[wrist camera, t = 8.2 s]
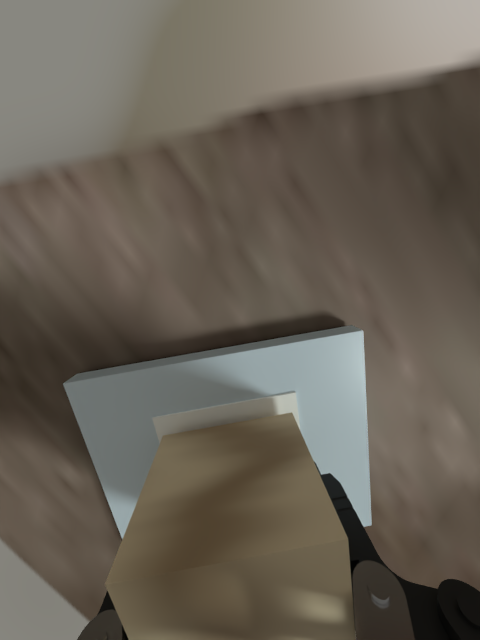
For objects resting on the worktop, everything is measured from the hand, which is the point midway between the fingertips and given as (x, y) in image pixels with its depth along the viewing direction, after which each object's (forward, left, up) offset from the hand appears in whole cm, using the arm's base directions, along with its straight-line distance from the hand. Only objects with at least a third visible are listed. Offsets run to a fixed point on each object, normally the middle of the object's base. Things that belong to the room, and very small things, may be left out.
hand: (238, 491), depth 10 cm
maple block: (0, 0, -1) cm, 1 cm away
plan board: (0, 0, -3) cm, 3 cm away
